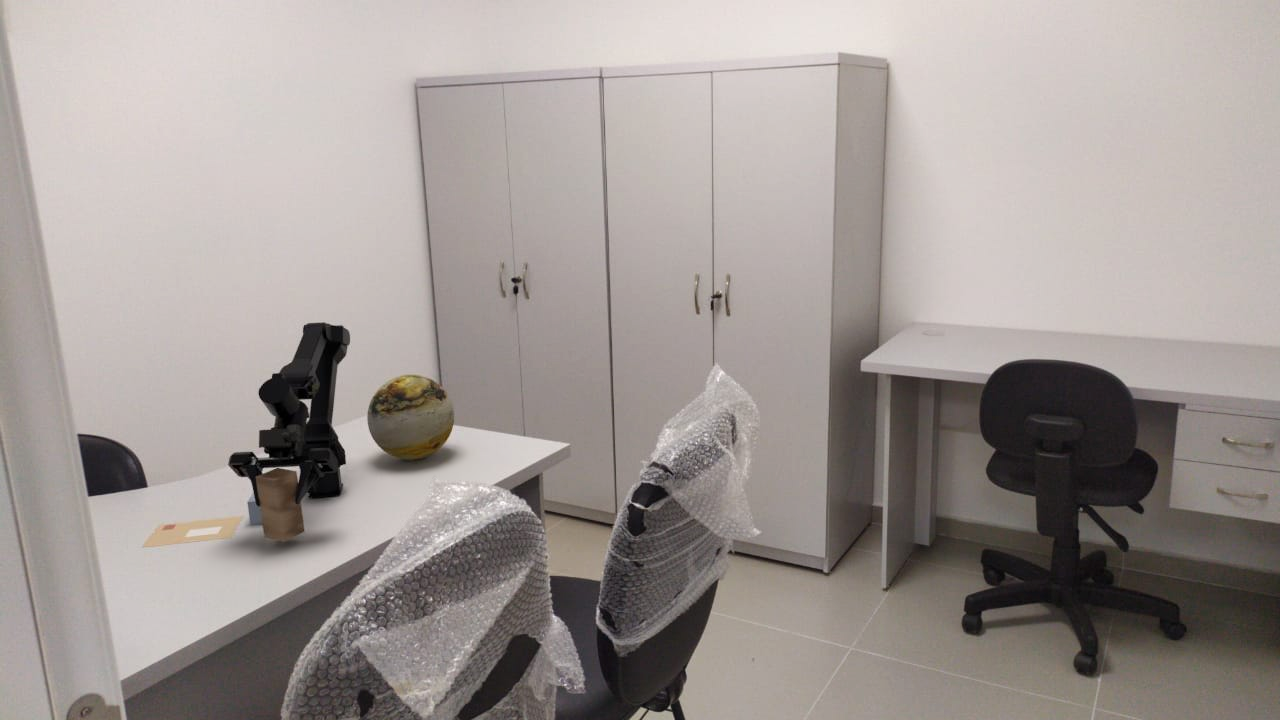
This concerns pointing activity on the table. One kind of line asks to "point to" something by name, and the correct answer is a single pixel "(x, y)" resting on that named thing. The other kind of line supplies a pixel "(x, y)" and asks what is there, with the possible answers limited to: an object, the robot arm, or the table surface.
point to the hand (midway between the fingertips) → (277, 504)
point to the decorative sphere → (410, 417)
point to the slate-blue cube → (254, 511)
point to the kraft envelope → (193, 531)
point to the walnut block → (279, 504)
